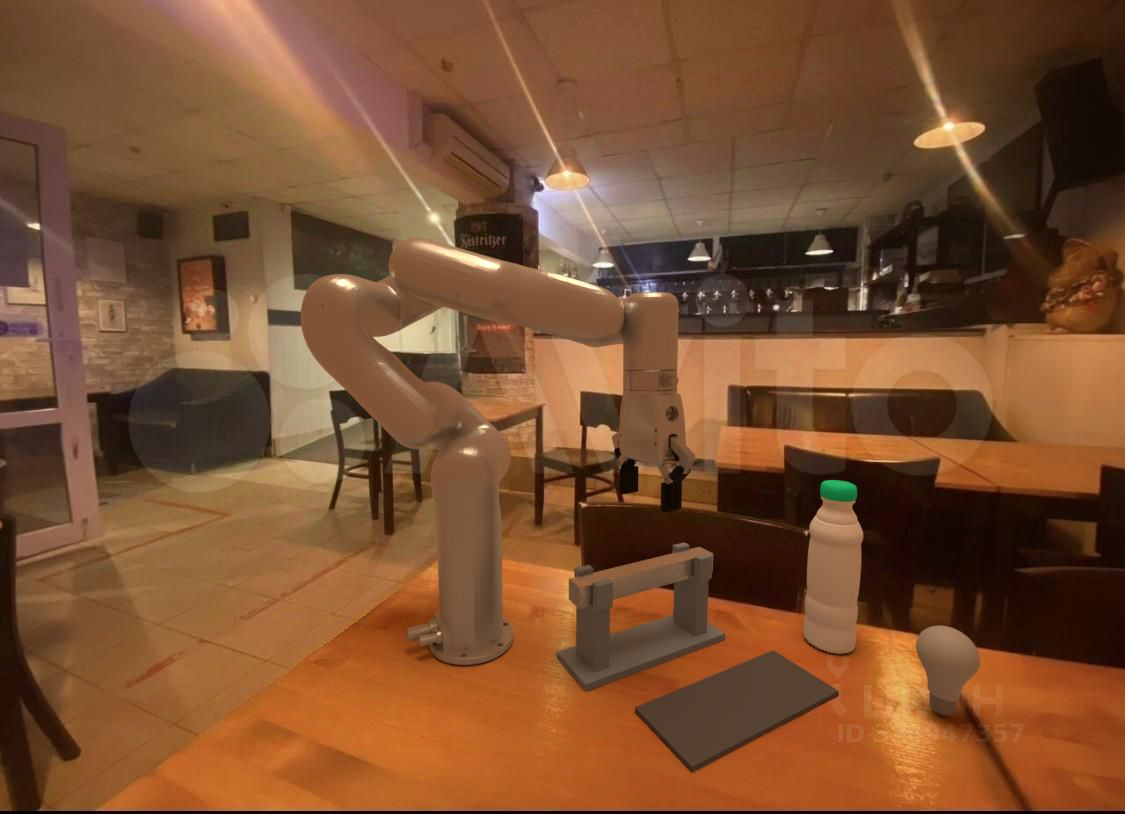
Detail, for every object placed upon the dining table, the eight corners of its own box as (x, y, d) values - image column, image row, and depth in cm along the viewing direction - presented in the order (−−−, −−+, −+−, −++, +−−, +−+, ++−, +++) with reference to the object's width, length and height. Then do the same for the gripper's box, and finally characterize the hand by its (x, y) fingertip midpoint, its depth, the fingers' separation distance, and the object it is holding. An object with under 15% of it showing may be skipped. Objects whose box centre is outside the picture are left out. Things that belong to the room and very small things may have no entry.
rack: (585, 691, 65) (586, 593, 63) (557, 658, 72) (557, 568, 70) (724, 639, 76) (728, 555, 75) (688, 615, 83) (691, 538, 82)
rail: (579, 609, 66) (579, 587, 66) (568, 599, 69) (568, 578, 68) (712, 571, 77) (713, 553, 77) (698, 564, 80) (699, 546, 80)
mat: (691, 772, 52) (691, 766, 52) (634, 711, 61) (635, 707, 61) (838, 695, 64) (838, 690, 64) (773, 653, 73) (773, 650, 73)
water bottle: (842, 630, 79) (852, 477, 76) (864, 657, 72) (876, 489, 69) (796, 628, 80) (804, 476, 77) (813, 654, 73) (823, 488, 70)
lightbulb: (960, 703, 63) (968, 620, 61) (983, 738, 57) (992, 648, 56) (904, 692, 65) (910, 612, 63) (920, 725, 59) (928, 638, 58)
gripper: (715, 384, 64) (712, 513, 66) (634, 379, 79) (633, 484, 81) (669, 387, 60) (667, 523, 62) (594, 380, 75) (594, 490, 77)
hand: (648, 501), depth 71 cm, fingers open, 9 cm apart
